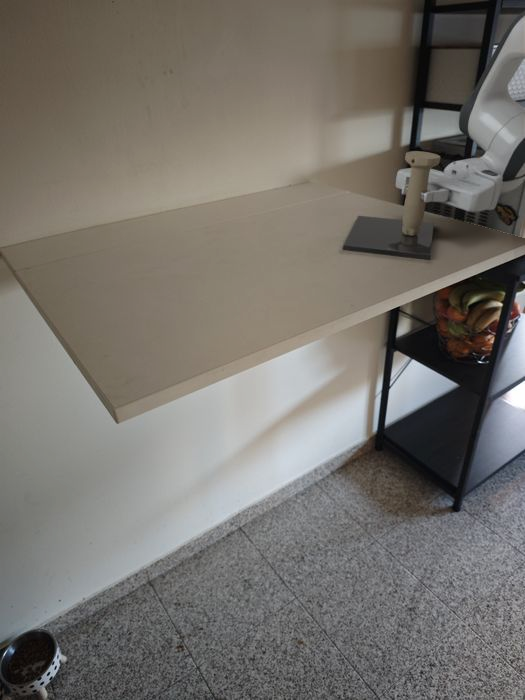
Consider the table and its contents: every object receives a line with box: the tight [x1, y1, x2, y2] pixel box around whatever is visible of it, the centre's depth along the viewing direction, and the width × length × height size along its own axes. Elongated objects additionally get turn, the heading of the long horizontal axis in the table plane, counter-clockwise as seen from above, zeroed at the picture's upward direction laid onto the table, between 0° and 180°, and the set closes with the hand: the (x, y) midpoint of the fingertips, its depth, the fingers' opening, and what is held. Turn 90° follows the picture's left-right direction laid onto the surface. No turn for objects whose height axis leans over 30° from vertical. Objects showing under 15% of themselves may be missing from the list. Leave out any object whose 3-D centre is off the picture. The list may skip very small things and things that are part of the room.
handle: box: [402, 150, 441, 236], centre depth 95 cm, size 5×6×15 cm
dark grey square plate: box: [342, 215, 435, 261], centre depth 100 cm, size 16×18×1 cm
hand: (413, 194), depth 95 cm, fingers closed on handle, 3 cm apart
